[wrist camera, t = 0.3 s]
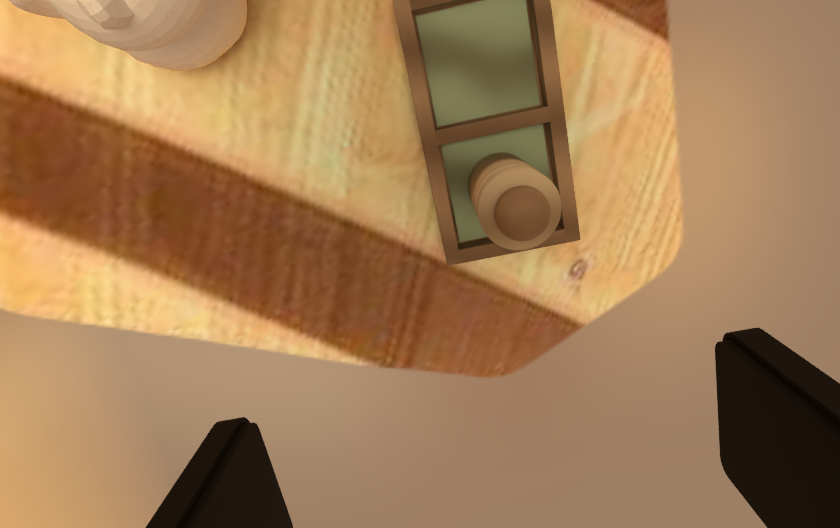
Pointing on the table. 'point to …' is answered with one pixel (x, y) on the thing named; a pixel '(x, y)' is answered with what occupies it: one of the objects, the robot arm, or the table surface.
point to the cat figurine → (154, 26)
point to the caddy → (485, 106)
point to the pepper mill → (513, 201)
